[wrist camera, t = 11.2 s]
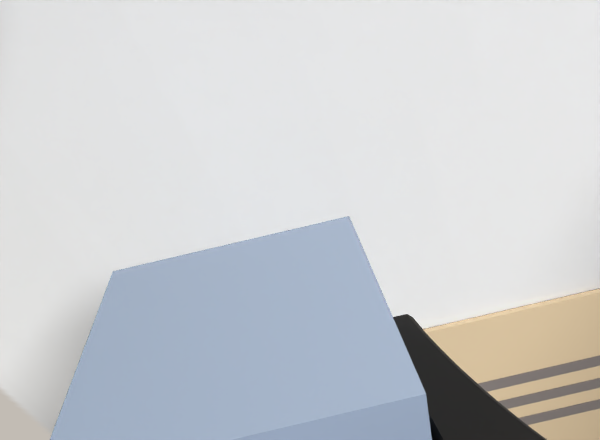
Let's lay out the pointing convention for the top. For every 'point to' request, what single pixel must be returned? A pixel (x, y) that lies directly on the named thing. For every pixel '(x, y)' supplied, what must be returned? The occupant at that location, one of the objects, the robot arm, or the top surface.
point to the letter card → (536, 362)
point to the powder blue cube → (248, 348)
